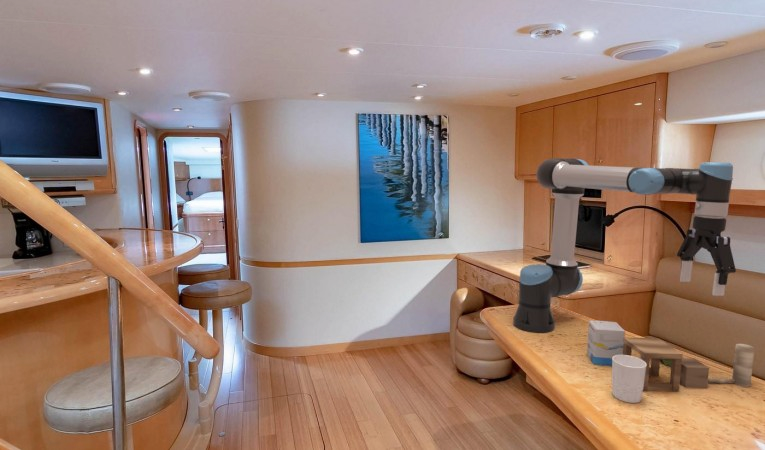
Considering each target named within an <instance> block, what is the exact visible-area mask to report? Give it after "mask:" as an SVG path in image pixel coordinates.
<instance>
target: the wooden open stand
mask: <svg viewBox="0 0 765 450" xmlns="http://www.w3.org/2000/svg"><path fill="white" fill-rule="evenodd" d="M623 342H624V344H623V355H629V356H632V352H633V351H634V352H636V353H637V354H639V355H640V358H639V359H641V360H643V361H645V362H646V364H647V366H646V373H645V381H644V387H643V391H642V392H648V391H653V392H654V391H655V392H657V391H658V392H659V391H660V392H661V391H663V392H674V393H675V392H678V393H679V392H680V386H681V384H680V374H681V363H682V358H684V357H683V356H684V354H683V353H682V352H681V351H679V350H677V349H676V348H675V347H673V346H671V345H670V344H669V343H667V342H665V341H664V340H663V339H660V338H658V337H625V338H624V339H623ZM632 350H633V351H632ZM660 358H663V359H672V362H671V367H670V375H669V376H670V377H669V381H666V382H664V381H649V377H650V376H653V377H659V376H660V367H661V359H660Z"/></svg>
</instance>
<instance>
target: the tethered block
mask: <svg viewBox="0 0 765 450" xmlns="http://www.w3.org/2000/svg"><path fill="white" fill-rule="evenodd" d="M755 350H756V348H755V346H752V345H750V344H746V343H736V344H735V351H734V358H733V370H732V378H709V372H710V367H709V366H707V364H706V365H705V364H704V363H703V362H701V361H699V360H697V359H696V358H695V357H693V358H692V357H683V358H682V363H681V374H680V386H682V387H683V388H685V389H707V388H708V383H724V384H725V383H728V384H729V383H730V384H731V383H732V384H733V385H736V386H738V385H739V387H742V386H743V388H750V387H751V384H752V375H753V367H754V366H753V364H754V359H755V357H754V356H755Z"/></svg>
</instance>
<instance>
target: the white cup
mask: <svg viewBox="0 0 765 450" xmlns="http://www.w3.org/2000/svg"><path fill="white" fill-rule="evenodd" d="M646 366H647V364H646V362H645V361H643V360H641V359H640V358H639V357H636V356H634V355H633V356H632V355H631V356H629V355H615V356H613V357H612V366H611V385H612V389H611V390H612V395H613V396H614V398H615V399H617V400H620V401H622V402H625V403H629V404H630V403H631V404H637V403H640V402H641V401H642V398H643V397H642V396H643V392H644V391H643V387H644V381H645V373H646Z"/></svg>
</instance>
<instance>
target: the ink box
mask: <svg viewBox="0 0 765 450" xmlns="http://www.w3.org/2000/svg"><path fill="white" fill-rule="evenodd" d="M624 338H626V330H625V329H623V328H622V326H620V325H619V323H618V322H617V321H606V320H588V331H587V346H586V355H587V356H588V358H589V359H590V361H591V362H592V364H593V365H595V366H596V365H598V366H606V367H607V366H608V367H609V366H610V367H612V357H613V356H615V355H623V344H624V342H623V339H624Z"/></svg>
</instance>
